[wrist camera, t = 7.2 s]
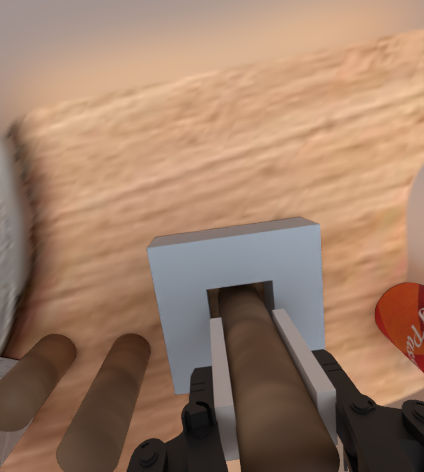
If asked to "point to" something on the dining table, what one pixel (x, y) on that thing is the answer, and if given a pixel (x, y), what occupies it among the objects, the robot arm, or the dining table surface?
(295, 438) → the tall walnut dowel
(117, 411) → the medium walnut dowel
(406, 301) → the paper cup
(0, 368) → the light bulb box
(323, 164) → the dining table surface
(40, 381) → the short walnut dowel
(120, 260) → the dining table surface
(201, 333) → the drilled block
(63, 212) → the dining table surface
